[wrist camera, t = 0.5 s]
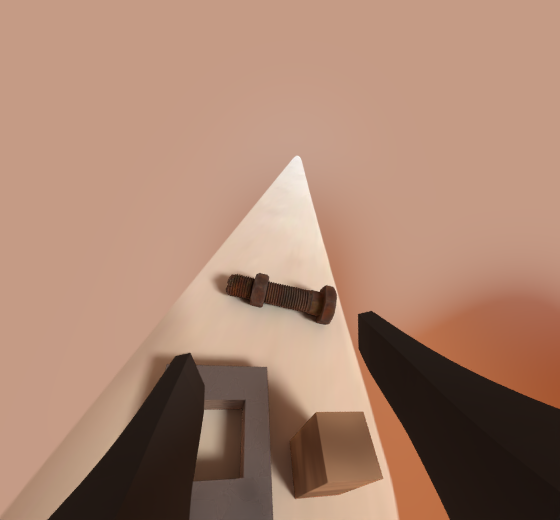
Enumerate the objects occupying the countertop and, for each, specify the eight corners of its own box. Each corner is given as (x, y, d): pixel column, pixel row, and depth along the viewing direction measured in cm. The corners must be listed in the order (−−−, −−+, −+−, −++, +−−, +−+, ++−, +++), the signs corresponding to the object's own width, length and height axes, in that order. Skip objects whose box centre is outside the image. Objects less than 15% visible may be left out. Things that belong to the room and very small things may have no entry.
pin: (338, 494, 21) (383, 478, 16) (294, 498, 21) (327, 482, 16) (328, 439, 24) (363, 411, 19) (289, 441, 24) (315, 412, 19)
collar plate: (269, 633, 16) (278, 642, 14) (91, 669, 13) (78, 685, 12) (262, 377, 28) (266, 367, 26) (168, 375, 25) (166, 364, 24)
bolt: (228, 297, 38) (322, 318, 38) (220, 308, 33) (329, 333, 33) (236, 260, 37) (332, 283, 37) (228, 267, 32) (340, 292, 32)
